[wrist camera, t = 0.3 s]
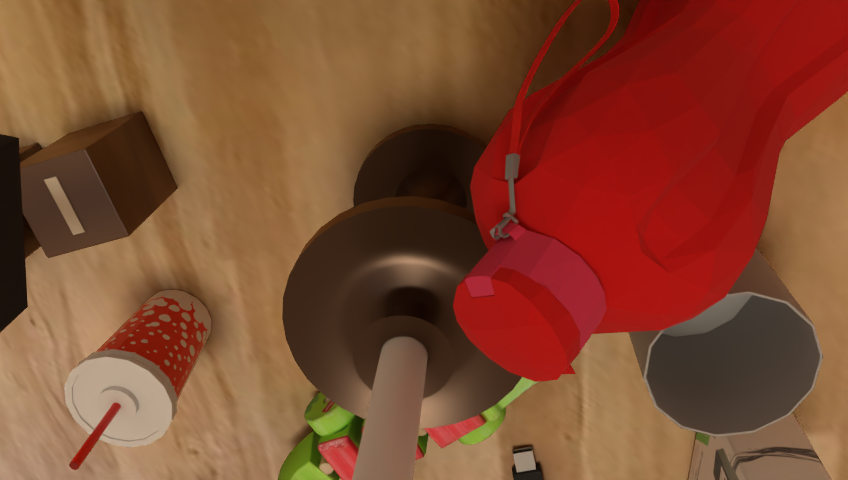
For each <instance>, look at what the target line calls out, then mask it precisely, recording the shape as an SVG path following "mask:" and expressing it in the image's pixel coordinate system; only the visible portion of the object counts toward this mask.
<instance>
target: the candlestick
mask: <svg viewBox="0 0 848 480" xmlns="http://www.w3.org/2000/svg"><path fill="white" fill-rule="evenodd" d="M485 149H486V146H485V145H483V144H482V143H481V142H480V141H479V140H478V139H476V138H474V137H473V136H471V135H469V134H467V133H466V132H464V131H461V130H458V129H455V128H452V127H449V126H443V125H435V124H428V125H416V126H412V127H408V128H404V129H402V130H399V131H397V132H395V133H393V134H391V135H389V136H388V137H386V138H385V139H384V140H382V141H381V142H380V143H379V144H377V145H376V146H375V148H374V149H373V150H372V151H371V152H370V153H369V155H368V156H367V158H366V159H365V161H364V163H363V165H362V167H361V169H360V171H359V173H358V177H357V180H356V183H355V187H354V198H353V202H354V207H353V208H351V209H349V210H347V211H345V212H342V213H340V214H339V215H337V216H336V217H335V218H333V219H332V220H331V221H329V222H328V223H326V224H325V225H324V226H322V227H321V228H320V229H319V230H318V231H317V232H316V234H315V235H314V236H313V237H312V238H311V239H310V240H309V242H308V243H307V244H306V245H305V247H304V249H303V250H302V252H301V254H300V256H299V258H298V260H297V261H296V263H295V265H294V267H293V269H292V271H291V273H290V275H289V278H288V282H287V285H286V289H285V293H284V296H283V318H282V319H283V324H284V330H285V335H286V340H287V343H288V345H289V347H290V350H291V352H292V355H293V357H294V359H295V361H296V363H297V364H298V366H299V367H300V369H301V370H302V372H303V373H304V375H305V376H306V378H307V379H308V380H309V381H310V382H311V383H312V384H313V385H314V386H315V387H316V388H317V389H318V390H319V391H320V392H321V393H322V394H323V395H324V396H326V397H327V398H328V399H330V400H331V401H333V402H334V403H335V404H337V405H338V406H340V407H341V408H343V409H345V410H347V411H349V412H351V413H353V414H355V415H357V416H359V417H361V418H363V419H366V420H365V424H364V429H363V433H362V438H361V442H360V447H359V451H358V456H357V460H356V465H355V469H354V473H353V478H352V480H413V473H414V465H415V457H416V449H417V441H418V433H419V428H435V427H440V426H446V425H451V424H456V423H459V422H461V421H464V420H467V419H469V418H472V417H475V416H477V415H479V414H481V413H482V412H484V411H486V410H487V409H489V408H491V407H493V406H494V405H496V404H497V403H498V402H499V401H501V400H502V399H503V398H504V397H505V396H506V395H507V394H509V393H510V392H511V391H512V390H513V389H514V387H515V386H516V385H517V383H518V382H519V381H520V379H521V378H522V377H521V376H519V375H516V374H513V373H511V372H509V371H507V370H506V369H504V368H503V367H501V366H500V365H498V364H497V363H495V362H494V361H492V360H491V359H489V358H488V357H487V356H486V355H485V354H484V353H483V352H481V351H480V350H479V349H478V348H477V347H476V346H475V345H474V344H473V343H472V342H471V341H470V340H469V339H468V337H467V336H466V334H465V333H464V331H463V330H462V328H461V327H460V325H459V323H458V322H457V320H456V316H455V312H454V308H453V303H454V298H455V294H456V289H457V286H458V285H459V284H460V282H461V281H462V280H463V279H464V278H465V276H466V275H467V274H469V273H470V272H471V271H472V269H473V268H474V267H475V266H476V264H477V263H478V262H479V261H480V260H481V259H482V258H483V257H484V256H485V254H486V253H487V252H488V251H489V250H488V249H487V247H486V245H485V243H484V241H483V238H482V236H481V233H480V230H479V228H478V225H477V223H476V219H475V213H474V207H473V201H472V195H471V189H470V184H471V180H472V176H473V171H474V167H475V165H476V164H477V162H478V160H479V159H480V157H481V155H482V154H483V152H484V151H485Z"/></svg>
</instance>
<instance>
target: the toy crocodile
mask: <svg viewBox="0 0 848 480" xmlns="http://www.w3.org/2000/svg"><path fill="white" fill-rule="evenodd" d="M539 382H540V381H539ZM536 383H538V382H535V381H532V380H529V379H527V378H524V377H522V378H521V379H520V381H519V382H518V383H517V385H516V386H515V387H514V389H513V390H512V391H511V392H510V393H509V394H507V395H506V396H505V397H504V398H503V399H502V400H501V401H499V402H498V403H497V404H496V405H494V406H493V407H491V408H489V409H487V410H486V411H484V412H482V413H481V414H479V415H477V416H475V417H472V418H469V419H467V420H464V421H461V422H459V423H456V424H451V425H446V426H440V427H435V428H419V433H418V441H417V449H416V457H415V460H417V459H420V458H423V457H424V455H425V453H426V447H427V440H428V434H429V435H430V436H431V437H432V438H433V440H434V441H435V442H436V443H437V444H438V445H439V446H440V447H441V448H444V447H446V446H447V445H449V444H451V443H452V442H454V441H456V440H459V441H460V442H461V443H463V444H467V445H471V444H476V443H479V442H481V441H483V440H485V439H486V438H488V437H489V436H490V435H492V434H493V433H494V432H495V431H496V430H497V429H498V428H499V426H500V425H501V423H502V422H503V420H504V417H505V414H506V409H505V407H506V406H507V405H508V404H510V403H511V402H512V401H513V400H515V399H516V398H517V397H518V396H520V395H521V394H522V393H523V392H525V391H526V390H527V389H529V388H530V387H531V386H532V385H534V384H536ZM305 420H306V421H307V423H308V424H309V425H310V426H311V427H312V428H313V430H314V431H312V432H311V433H310V434H309V435H308V436H306V437H305V438H304V439H303V440H302V441H301V442H300V443H299V444H298V445H297V446H296V447H295V448H294V449H293V450H292V451H291V452H290V454H289V455H288V457H287V458H286V460H285V461H284V463H283V465H282V467H281V470H280V473H279V477H278V480H339V478H341V479H342V480H352V478H353V473H354V469H355V465H356V460H357V456H358V451H359V447H360V442H361V438H362V433H363V429H364V424H365V420H366V419H363V418H361V417H359V416H357V415H355V414H353V413H351V412H349V411H347V410H345V409H343V408H341V407H340V406H338V405H337V404H335V403H334V402H333V401H331V400H330V399H328V398H327V397H326V396H324V395H323V394H322V393H321V392H319V393H318V394H317V395H316V396H315V397H314V398H313V400H312V401H311V402H310V404H309V405H308V407H307V409H306V411H305Z"/></svg>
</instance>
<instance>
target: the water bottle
mask: <svg viewBox="0 0 848 480" xmlns="http://www.w3.org/2000/svg"><path fill="white" fill-rule="evenodd" d="M581 1H582V0H576V1H575V2H574V3H573V4H572V5H571V6H570V7H569V8H568V9H567V11H566V12H565V13H564V14H563V16H562V17H561V18H560V20H559V21H558V22H557V24H556V25H555V27H554V28H553V30H552V31H551V33H550V34H549V36H548V38H547V39H546V41H545V42H544V45H543V46H542V48H541V49H540V51H539V53H538V55H537V57H536V58H535V60H534V62H533V64H532V66H531V68H530V70H529V72H528V74H527V76H526V78H525V80H524V82H523V84H522V86H521V89H520V91H519V94H518V96H517V99H516V102H515V105H514V107H513V108H512V109H511V110H509V111H508V113H507V115H506V116H505V118H504V120H503V121H502V123H501V124H500V126H499V128H498V129H497V131H496V133H495V134H494V136H493V137H492V139H491V141H490V142H489V144H488V146H487V147H486V149H485V151H484V152H483V154H482V155H481V157H480V159H479V160H478V162H477V164H476V165H475V167H474V171H473V176H472V180H471V184H470V189H471V195H472V201H473V207H474V213H475V219H476V223H477V225H478V228H479V230H480V233H481V236H482V238H483V241H484V243H485V245H486V247H487V249H488V250H489V251H488V252H487V253H486V254H485V256H484V257H483V258H482V259H481V260H480V261H479V262H478V263H477V264H476V266H475V267H474V268H473V269H472V271H471V272H470V273H469V274H467V275H466V276H465V278H464V279H463V280H462V281H461V282H460V284H459V285H458V286H457V289H456V294H455V298H454V303H453V308H454V312H455V316H456V320H457V322H458V323H459V325H460V327H461V328H462V330H463V331H464V333H465V334H466V336H467V337H468V339H469V340H470V341H471V342H472V343H473V344H474V345H475V346H476V347H477V348H478V349H479V350H480V351H481V352H483V353H484V354H485V355H486V356H487V357H488V358H489V359H491V360H492V361H494V362H495V363H497V364H498V365H500V366H501V367H503V368H504V369H506V370H507V371H509V372H511V373H513V374H516V375H519V376H521V377H524V378H527V379H529V380H532V381H535V382H539V381H548V380H557V379H558V378H559V377H560V375H561V374H576V373H575V372H574V370H573V368H572V367H571V365H570V364H571V362H572V361H573V360H574V359H575V358H576V356H577V355H578V354H579V353H580V351H581V349H582V348H583V346H584V345H585V343H586V342H587V341H588V339H589V338H590V336H591V335H592V333H593V334H597V333H615V332H636V331H657V330H664V329H666V328H669V327H672V326H674V325H677V324H680V323H682V322H685V321H687V320H690V319H693V318H694V317H696V316H697V315H699V314H700V313H702V312H703V311H705V310H706V309H708V308H709V307H711V306H713V305H714V304H716V303H717V302H719V301H720V300H722V299H723V298H725V297H726V295H727V294H728V292H729V291H730V289H731V288H732V286H733V285H734V283H735V282H736V280H737V279H738V277H739V276H740V274H741V273H742V271H743V270H744V268H745V267H746V265H747V264H748V262H749V261H750V259H751V258H752V256H753V254H754V252H755V249H756V246H757V244H758V241H759V238H760V236H761V233H762V230H763V228H764V225H765V222H766V220H767V215H768V210H769V205H770V200H771V194H772V189H773V184H774V179H775V174H776V169H777V164H778V158H779V153H780V151H781V149H782V147H783V145H784V143H785V141H786V140H787V139H788V138H790V137H791V136H792V135H793V134H795V133H796V132H797V131H799V130H800V129H801V128H802V127H804V126H805V125H806V124H807V123H809V122H810V121H811V120H813V119H814V118H815V117H816V116H818V115H819V114H820V113H822V112H823V111H824V110H825V109H827V108H828V107H829V106H831V105H832V104H833V103H834V102H836V101H837V100H838V99H839V98H841V97H842V96H843V95H844V94H845V93H846V92H847V91H848V0H639V2H638V5H637V7H636V9H635V11H634V14H633V16H632V18H631V20H630V22H629V25H628V27H627V29H626V31H625V34H624V36H623V37H622V38H621V39H620V40H619V41H618V42H617V43H616V44H615V45H614V46H613V47H612V48H611V49H610V50H609V51H608V52H607V53H606V54H605V55H603V56H601V57H599V58H597V59H596V60H594V61H592V62H590V63H588V64H586V65H584V66H583V67H581V68H579V67H580V66H581V65H583V64H584V63H585V62H586V61H587V60H588V59H589V58H590V57H591V56H592V55H593V54H594V53H595V52H596V51H597V50H598V49H599V48H600V47H601V46H602V45H603V44H604V43H605V42H606V40H607V39H608V38H609V37H610V35H611V34H612V33H613V31H614V30H615V28H616V25H617V22H618V20H619V12H620V10H619V4H618V0H607V1H608V3H609V5H610V9H611V20H610V24H609V27H608V29H607V31H606V32H605V34H604V36H603V37H602V38H601V39H600V41H599V42H598V43H597V44H596V45H595V46H594V47H593V48H592V49H591V51H589V52H588V54H587V55H585V56H584V58H582V59H581V60H580V61H579V62H578V63H577V64H576V65H575V66H574V67H573V68H572V69H571V70H569V71H568V72H567V73H566V74H565V75H564V76H563V77H562V78H561V79H559V80H557V81H555V82H553V83H551V84H549V85H548V86H546V87H544V88H542V89H540V90H538V91H537V92H535V93H533V94H531V95H530V96H528V97H527V98H526V99H525V96H526V93H527V90H528V87H529V86H530V84H531V81H532V79H533V77H534V75H535V72H536V71H537V69H538V67H539V65H540V63H541V61H542V59H543V58H544V56H545V54H546V52H547V50H548V48H549V46H550V45H551V43H552V41H553V40H554V38H555V36H556V34H557V33H558V31H559V30H560V28H561V27H562V25H563V24H564V22H565V21H566V19H567V17H568V16H569V15H570V13H571V12H572V11H573V10H574V8H575V7H576V6H577V5H578V4H579V3H580V2H581ZM578 68H579V69H578Z"/></svg>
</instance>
